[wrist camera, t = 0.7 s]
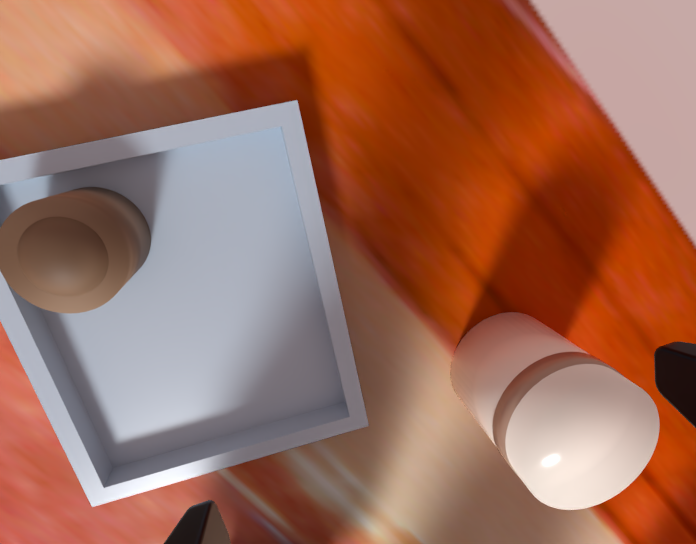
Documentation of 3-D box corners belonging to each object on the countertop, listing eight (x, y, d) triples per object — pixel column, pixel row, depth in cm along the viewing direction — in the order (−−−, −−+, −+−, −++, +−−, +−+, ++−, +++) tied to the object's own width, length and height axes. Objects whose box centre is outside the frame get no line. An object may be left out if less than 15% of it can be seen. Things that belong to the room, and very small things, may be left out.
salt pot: (164, 270, 19) (138, 305, 15) (66, 293, 19) (14, 335, 15) (131, 176, 18) (94, 188, 14) (26, 199, 17) (-44, 217, 13)
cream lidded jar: (556, 395, 26) (658, 485, 19) (456, 425, 25) (526, 529, 18) (550, 298, 24) (662, 360, 17) (442, 328, 23) (515, 404, 16)
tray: (361, 405, 23) (369, 426, 22) (105, 478, 22) (92, 507, 20) (294, 103, 19) (297, 100, 17) (-39, 170, 17) (-72, 174, 15)
